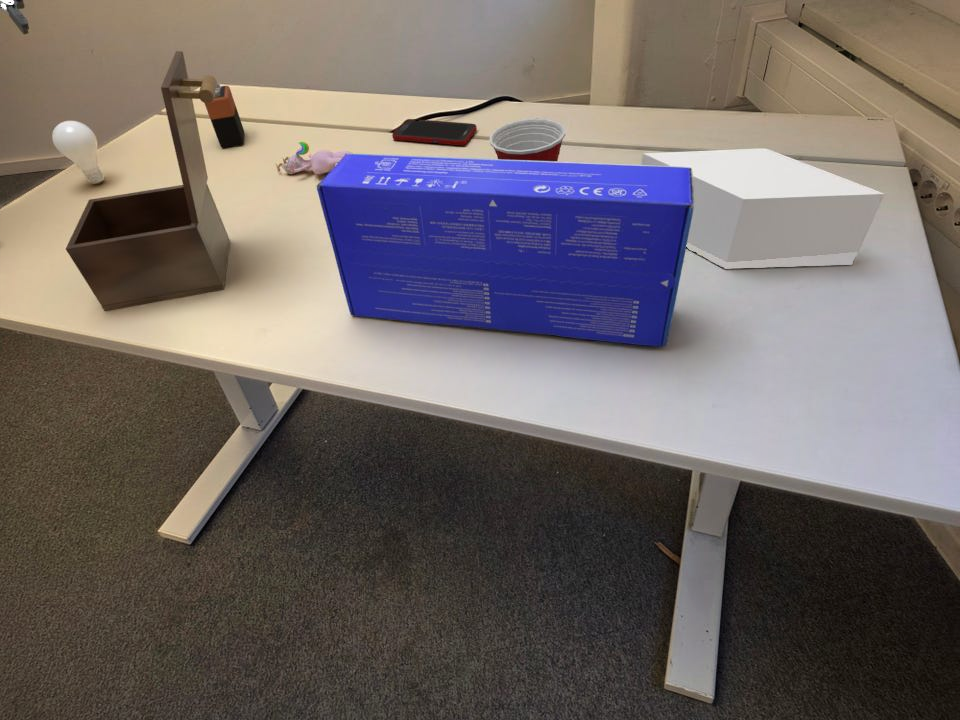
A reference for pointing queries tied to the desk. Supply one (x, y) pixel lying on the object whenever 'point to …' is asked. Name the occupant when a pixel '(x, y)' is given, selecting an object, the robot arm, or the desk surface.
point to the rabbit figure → (312, 161)
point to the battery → (225, 118)
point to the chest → (149, 247)
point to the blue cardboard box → (511, 243)
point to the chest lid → (187, 128)
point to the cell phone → (435, 132)
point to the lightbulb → (79, 148)
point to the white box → (771, 205)
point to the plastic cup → (528, 140)
